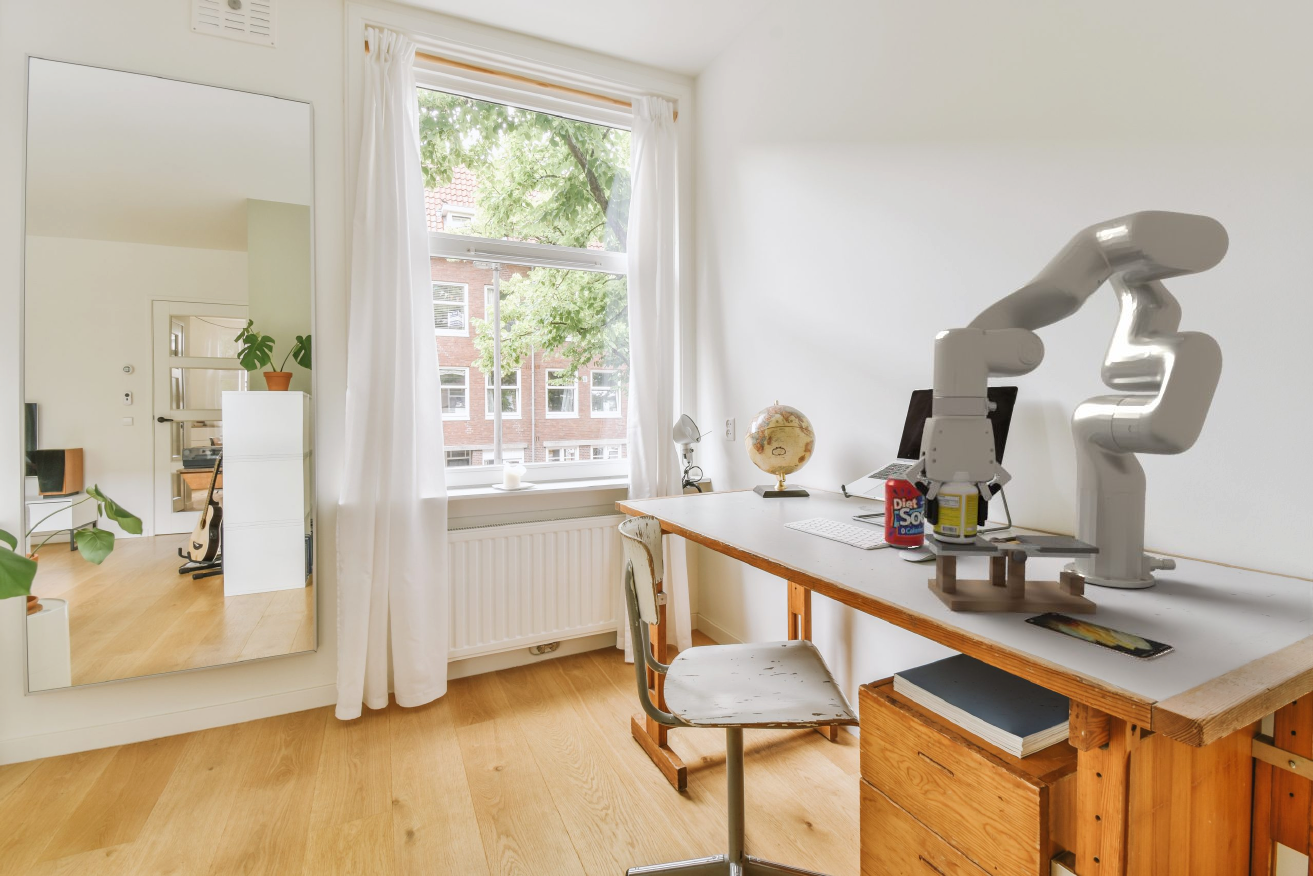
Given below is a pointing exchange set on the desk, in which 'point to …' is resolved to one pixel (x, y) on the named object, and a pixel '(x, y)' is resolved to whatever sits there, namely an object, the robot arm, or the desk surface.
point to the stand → (1009, 588)
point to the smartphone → (1099, 635)
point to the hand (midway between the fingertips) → (955, 523)
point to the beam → (1017, 547)
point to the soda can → (903, 513)
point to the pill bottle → (957, 510)
